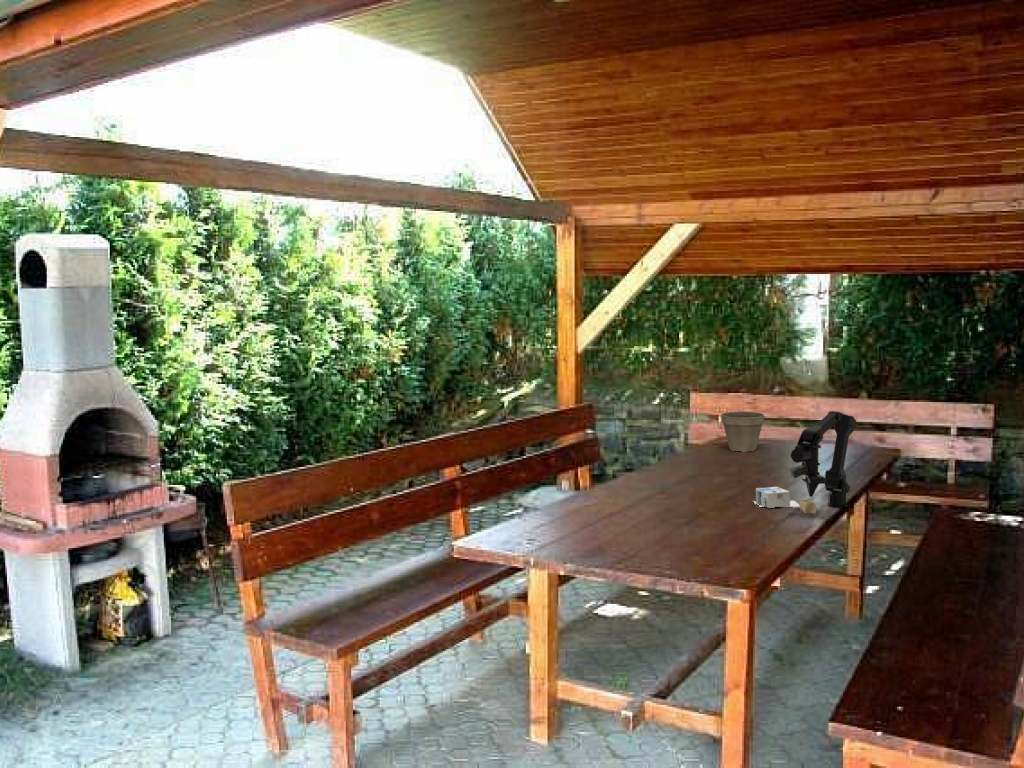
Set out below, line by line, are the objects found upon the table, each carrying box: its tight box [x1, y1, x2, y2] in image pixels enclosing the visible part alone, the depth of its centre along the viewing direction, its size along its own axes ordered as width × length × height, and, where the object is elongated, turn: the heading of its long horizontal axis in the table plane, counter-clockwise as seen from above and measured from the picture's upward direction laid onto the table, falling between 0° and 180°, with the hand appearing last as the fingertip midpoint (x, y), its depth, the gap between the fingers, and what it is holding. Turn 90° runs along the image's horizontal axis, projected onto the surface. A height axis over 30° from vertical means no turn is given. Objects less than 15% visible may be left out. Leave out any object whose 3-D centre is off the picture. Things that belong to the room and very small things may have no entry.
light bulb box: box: [755, 486, 791, 509], centre depth 392 cm, size 11×7×11 cm
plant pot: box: [720, 411, 765, 453], centre depth 534 cm, size 25×25×22 cm
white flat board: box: [752, 500, 800, 508], centre depth 394 cm, size 18×12×1 cm, turn 89°
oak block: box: [799, 499, 817, 514], centre depth 382 cm, size 4×4×9 cm
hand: (810, 496), depth 377 cm, fingers closed
